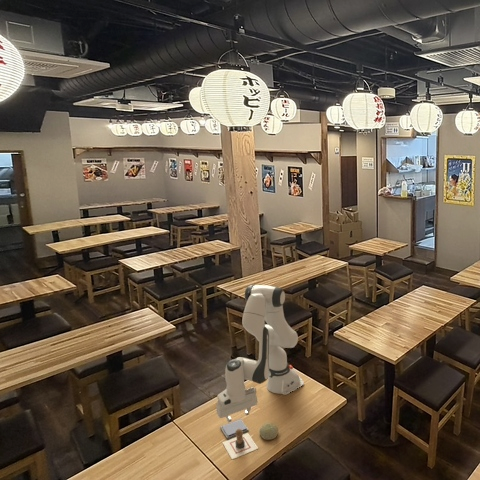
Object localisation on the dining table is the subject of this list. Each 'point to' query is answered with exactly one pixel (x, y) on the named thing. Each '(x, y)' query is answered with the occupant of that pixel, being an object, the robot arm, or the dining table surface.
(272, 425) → the sea urchin shell
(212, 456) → the dining table surface
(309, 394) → the dining table surface
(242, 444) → the stamp
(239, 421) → the ink pad
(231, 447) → the sheet
